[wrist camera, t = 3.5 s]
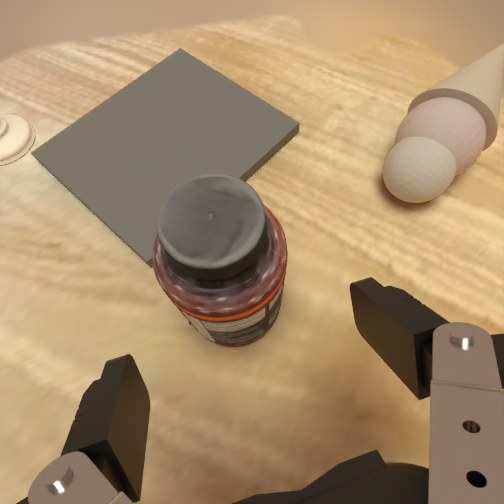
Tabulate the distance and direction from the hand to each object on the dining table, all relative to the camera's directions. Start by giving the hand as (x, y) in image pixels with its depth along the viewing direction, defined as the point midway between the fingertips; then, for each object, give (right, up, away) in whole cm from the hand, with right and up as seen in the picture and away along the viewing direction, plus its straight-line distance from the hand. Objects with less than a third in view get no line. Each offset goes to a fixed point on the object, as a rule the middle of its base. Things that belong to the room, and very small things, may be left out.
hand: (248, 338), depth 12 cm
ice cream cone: (+15, +11, +16) cm, 24 cm away
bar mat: (-7, +12, +16) cm, 21 cm away
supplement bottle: (-1, 0, +11) cm, 11 cm away
